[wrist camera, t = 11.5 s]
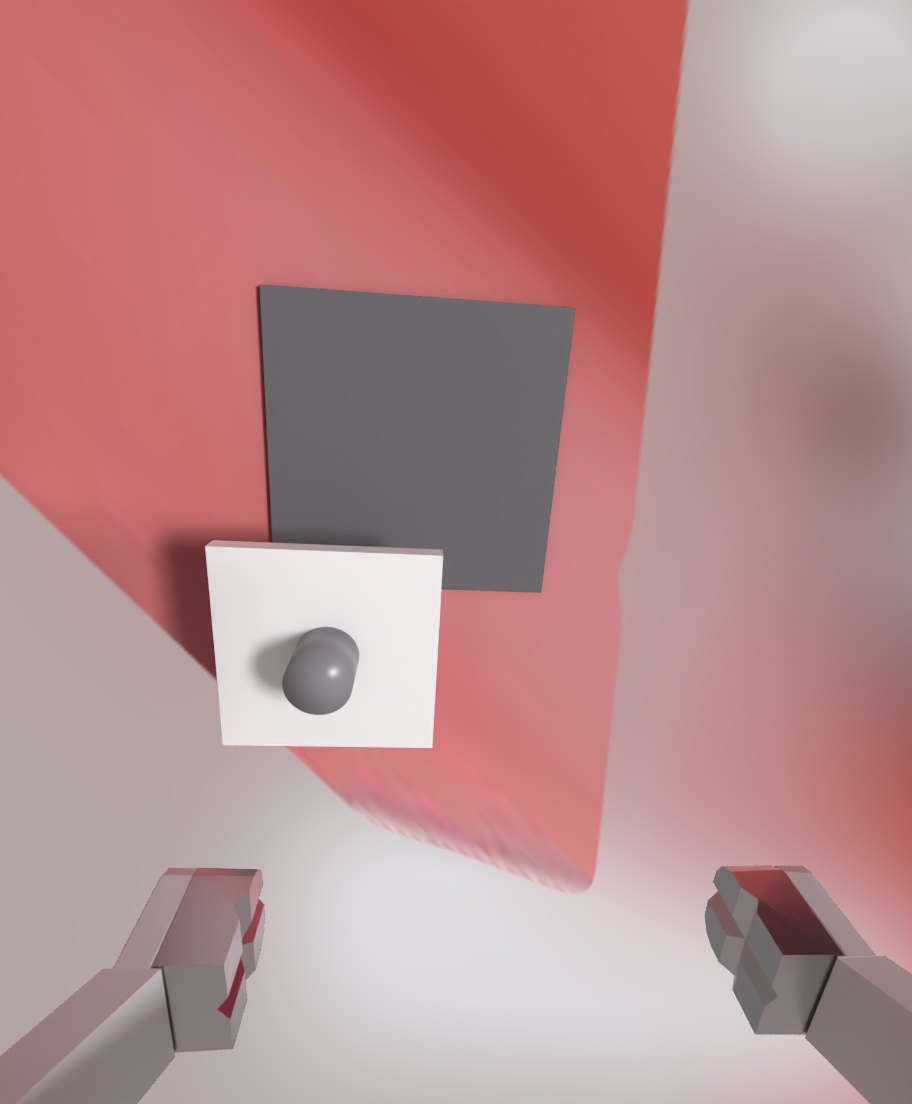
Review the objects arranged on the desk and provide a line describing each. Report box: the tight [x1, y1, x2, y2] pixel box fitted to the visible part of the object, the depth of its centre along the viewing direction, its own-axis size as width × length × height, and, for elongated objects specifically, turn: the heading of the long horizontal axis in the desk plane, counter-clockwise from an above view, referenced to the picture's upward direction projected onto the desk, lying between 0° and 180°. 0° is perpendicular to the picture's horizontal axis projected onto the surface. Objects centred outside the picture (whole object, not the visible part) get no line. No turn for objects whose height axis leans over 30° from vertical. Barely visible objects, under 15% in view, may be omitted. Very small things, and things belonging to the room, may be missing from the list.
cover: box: [205, 540, 443, 748], centre depth 33 cm, size 14×14×5 cm
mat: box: [260, 284, 575, 593], centre depth 38 cm, size 20×20×1 cm
